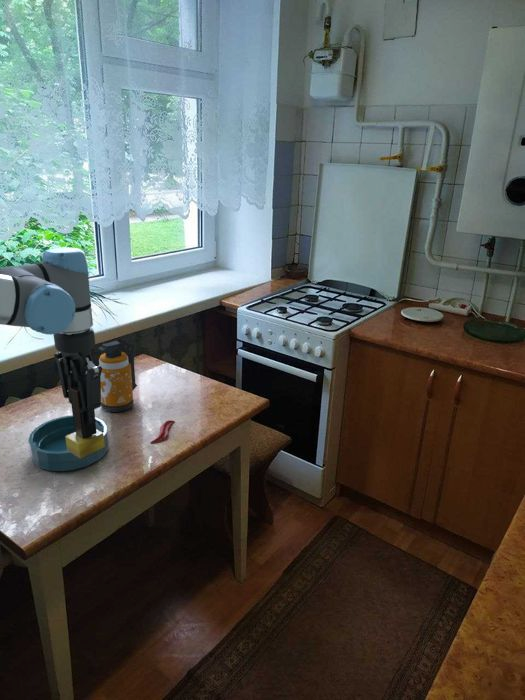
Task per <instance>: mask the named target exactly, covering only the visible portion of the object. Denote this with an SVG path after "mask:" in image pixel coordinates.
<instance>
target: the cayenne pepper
mask: <svg viewBox="0 0 525 700" xmlns="http://www.w3.org/2000/svg"><path fill="white" fill-rule="evenodd" d="M175 423H176V421H174V420H170V419H169V420H166V421H165V422H163V423H162V424H161V425H160V428H159V434H158V436H157V437H156V438H155V439H153V440H152V441H150V444H157V443H161V442H163V441H165V440H167V439H168V438H169V431H170V429H171V427H172V425H173V424H175Z"/></svg>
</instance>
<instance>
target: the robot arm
mask: <svg viewBox="0 0 525 700" xmlns="http://www.w3.org/2000/svg"><path fill="white" fill-rule="evenodd" d="M89 275H90V272H89V267H88V261H87V257H86V254H85V252H84V251H83V250H82V249H80V248H77V247H67V246H65V247H53V248H48V249H46V250H44V251H43V253H42V261H41V262H37V263H28V264H21V265H11V266H4V267H3V266H2V267H0V325H2V326H12V327H22V328H29V329H31V330H32V331H34V332H37V333H41V334H44V335H51V336H52V335H53V342H54V343H53V344H54V348H55V350H56V351H58V352H55V353H54V354H53V357H54V359H55V362H56V365H57V370H58V376H59V380H60V385H61V390H62V395H63V398H64V399H68V402H69V404H70V405H71V406H70V407H71V413H72V415H73V421H74V413H73V405H72V397H71V388H73V387H76V386H78V387H79V392H80V398H81V403H82V408H81V409H79V410H80V412H81V421H82V429H83V437H84V438H87V437H89V436H91V435H94V434H96V433H97V432H96V423H95V420H96V419H95V417H96V412H95V411H96V409H99V408H102V407H101V373H102V367H101V366H100V365H97V366H96V365H95V364H94V358H93V355H92V353H91V351H92V349H93V348H94V347H95V346H96V335H95V328H93V326H94V320H93V308H92V302H91V301H92V300H91V290H90V278H89V277H90V276H89ZM74 429H75V421H74ZM75 432H76V429H75Z"/></svg>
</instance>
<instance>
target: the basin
mask: <svg viewBox="0 0 525 700" xmlns="http://www.w3.org/2000/svg"><path fill="white" fill-rule="evenodd" d="M95 419H96V420H95V423H96V429H97V430H99V431H100V432H102V433H103V435H104V444H105V447H103V448H101V449H99V450H97V451H95V452H93V453H91V454H89V455H87V456H85V457H83V458H81V459H80V458H78V457H77V456H75V455H74V454H72V453H71V452H69V451H68V450H67V446H66V438H65V436H67V435H69V434H71V433H74V432H75V429H74V421H73V414H71V415H64V416H60V417H56V418H51V419H50V420H47V421H45V422H43V423H41V424H39V425H38V426H37V427H35V428H34V429H33V431H32V432H31V433H30V434H29V437H28V441H27V442H28V447H29V453H30V459H31V461H32V463H33V464H34V465H35V466H36V467H38V468H39V469H43V470H47V471H52V472H53V471H54V472H66V471H73V470H74V471H75V470H79V469H82V468H84V467H87V466H90V465H92V464H93V463H96V462H98V461H99V460H100V459H101V458H103V457H104V456H105V455H106V453H107V452H108V450H109V433H108V425H107V424H106V423H105V421H104V420H103V419H101V418H98V417H96V416H95Z"/></svg>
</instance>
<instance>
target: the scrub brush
mask: <svg viewBox="0 0 525 700" xmlns="http://www.w3.org/2000/svg"><path fill="white" fill-rule="evenodd" d="M71 397H72V405H73V413H74V421H75V429H76V432H74V433H71V434H69V435H67V436H65V438H66V446H67V450H68V451H69V452H71V453H72V454H74V455H75V456H77V457H78V458H80V459H81V458H83V457H85V456H87V455H89V454H91V453H93V452H95V451H97V450H99V449H101V448H103V447H105V444H104V435H103V433H102V432H100V431H99V430H97V429H96V432H97V433H96V434H94V435H91V436H89V437H87V438H84V437H83V429H82V421H81V412H80V410H79V409H81V408H82V403H81V398H80V392H79V387H78V386H76V387H73V388H71ZM73 413H72V414H73Z"/></svg>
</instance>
